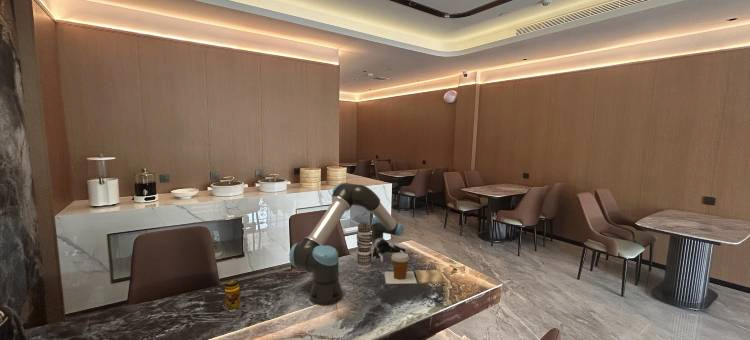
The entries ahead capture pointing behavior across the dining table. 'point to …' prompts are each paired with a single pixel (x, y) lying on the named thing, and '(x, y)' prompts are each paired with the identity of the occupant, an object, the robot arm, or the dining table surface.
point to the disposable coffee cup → (400, 264)
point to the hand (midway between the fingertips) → (393, 258)
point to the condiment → (232, 294)
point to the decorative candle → (364, 245)
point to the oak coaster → (429, 276)
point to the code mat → (392, 280)
